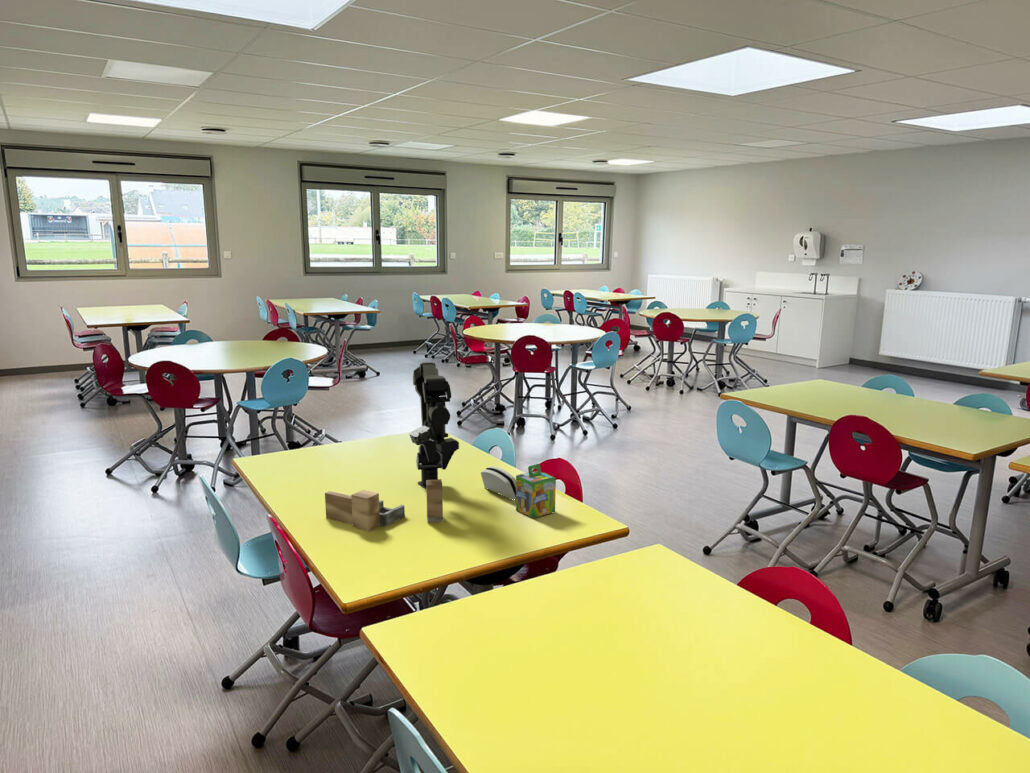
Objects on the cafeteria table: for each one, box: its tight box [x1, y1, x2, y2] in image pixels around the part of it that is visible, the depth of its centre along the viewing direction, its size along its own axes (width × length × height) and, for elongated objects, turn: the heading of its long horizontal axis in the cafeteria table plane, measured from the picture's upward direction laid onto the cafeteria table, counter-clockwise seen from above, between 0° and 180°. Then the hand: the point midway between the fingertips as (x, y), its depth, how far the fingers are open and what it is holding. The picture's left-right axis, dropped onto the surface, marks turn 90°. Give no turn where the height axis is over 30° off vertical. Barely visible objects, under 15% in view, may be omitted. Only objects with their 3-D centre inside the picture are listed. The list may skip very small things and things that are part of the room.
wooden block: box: [425, 478, 444, 524], centre depth 208 cm, size 5×5×12 cm
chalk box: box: [515, 463, 557, 519], centre depth 215 cm, size 9×9×15 cm
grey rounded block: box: [480, 465, 516, 501], centre depth 232 cm, size 17×5×10 cm, turn 38°
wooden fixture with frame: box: [324, 489, 406, 532], centre depth 210 cm, size 14×20×10 cm
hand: (437, 465), depth 221 cm, fingers open, 9 cm apart
